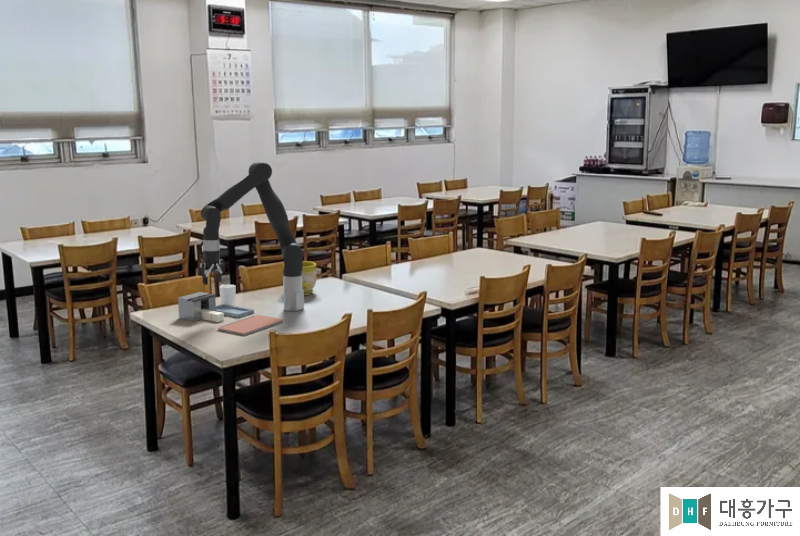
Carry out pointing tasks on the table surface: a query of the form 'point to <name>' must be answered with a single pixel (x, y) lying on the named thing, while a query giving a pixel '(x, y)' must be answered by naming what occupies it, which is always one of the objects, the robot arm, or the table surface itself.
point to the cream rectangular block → (212, 315)
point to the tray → (233, 310)
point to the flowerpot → (308, 276)
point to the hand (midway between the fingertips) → (212, 283)
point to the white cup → (228, 294)
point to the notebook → (250, 324)
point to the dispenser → (195, 305)
